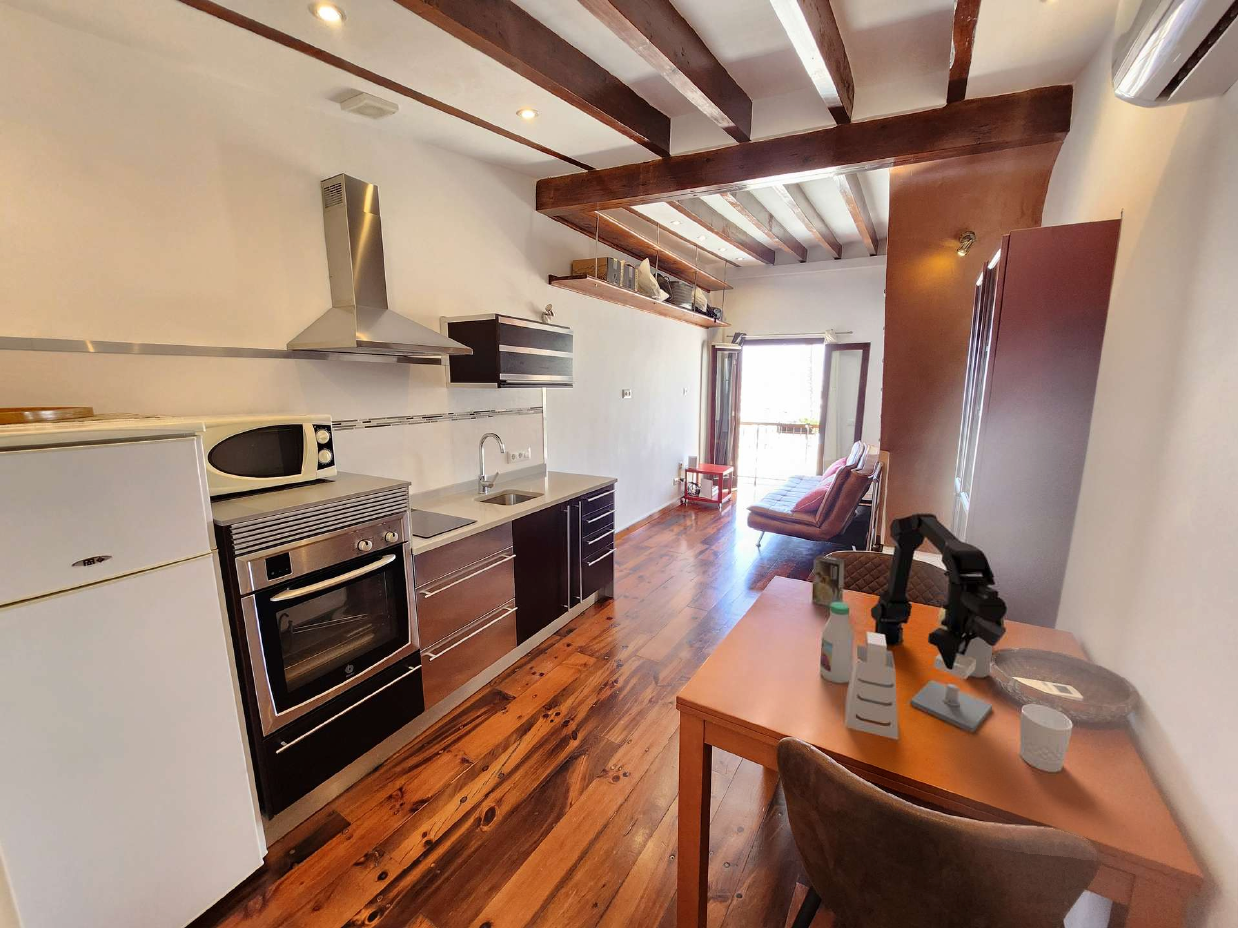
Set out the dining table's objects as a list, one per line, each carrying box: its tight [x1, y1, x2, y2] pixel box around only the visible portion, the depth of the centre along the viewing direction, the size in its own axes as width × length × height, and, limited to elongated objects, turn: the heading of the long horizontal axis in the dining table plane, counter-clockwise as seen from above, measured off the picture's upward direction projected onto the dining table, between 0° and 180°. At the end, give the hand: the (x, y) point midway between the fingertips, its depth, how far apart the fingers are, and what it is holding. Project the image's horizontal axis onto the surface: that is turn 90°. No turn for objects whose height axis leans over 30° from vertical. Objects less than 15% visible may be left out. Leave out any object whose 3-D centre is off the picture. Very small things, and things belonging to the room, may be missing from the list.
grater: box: [845, 631, 899, 741], centre depth 114 cm, size 10×10×20 cm
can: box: [965, 637, 994, 679], centre depth 133 cm, size 8×8×12 cm
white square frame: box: [933, 653, 976, 680], centre depth 118 cm, size 6×6×2 cm
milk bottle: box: [819, 602, 855, 684], centre depth 131 cm, size 8×8×20 cm
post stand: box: [909, 679, 994, 734], centre depth 119 cm, size 13×13×5 cm
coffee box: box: [811, 554, 846, 608], centre depth 175 cm, size 9×6×16 cm
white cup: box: [1019, 703, 1073, 773], centre depth 102 cm, size 8×8×10 cm
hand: (954, 663), depth 118 cm, fingers closed on white square frame, 6 cm apart
